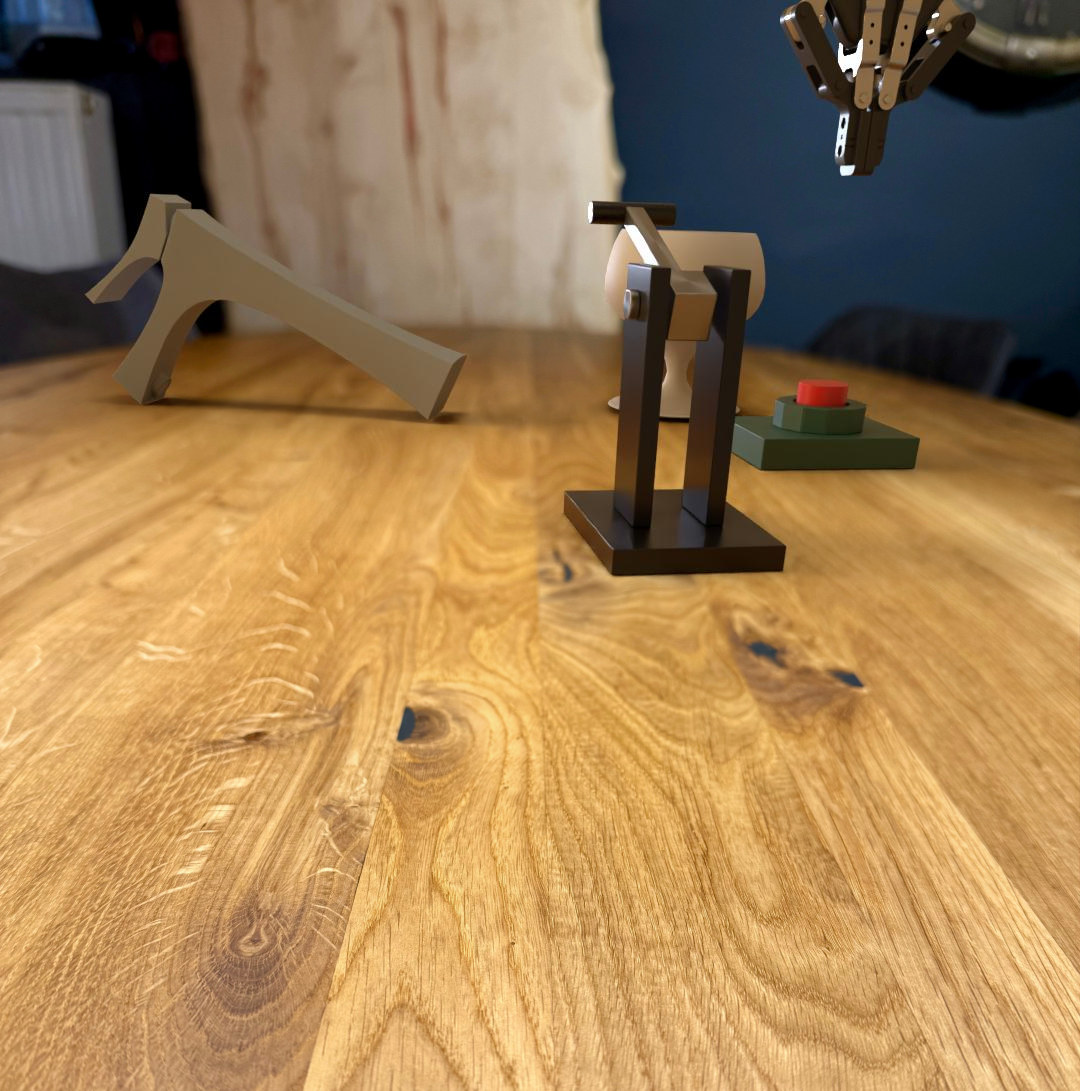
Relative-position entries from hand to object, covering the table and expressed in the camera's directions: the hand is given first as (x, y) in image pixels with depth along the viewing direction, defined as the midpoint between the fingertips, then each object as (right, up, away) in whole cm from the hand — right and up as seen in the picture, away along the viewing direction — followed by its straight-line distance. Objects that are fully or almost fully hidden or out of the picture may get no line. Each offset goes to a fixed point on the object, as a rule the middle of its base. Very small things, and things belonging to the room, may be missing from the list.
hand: (856, 175), depth 70 cm
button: (-1, -14, +7) cm, 15 cm away
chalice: (-9, -9, +25) cm, 28 cm away
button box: (-1, -17, +9) cm, 19 cm away
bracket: (-15, -27, -13) cm, 33 cm away
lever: (-15, -13, -14) cm, 24 cm away
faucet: (-44, -10, +20) cm, 49 cm away
